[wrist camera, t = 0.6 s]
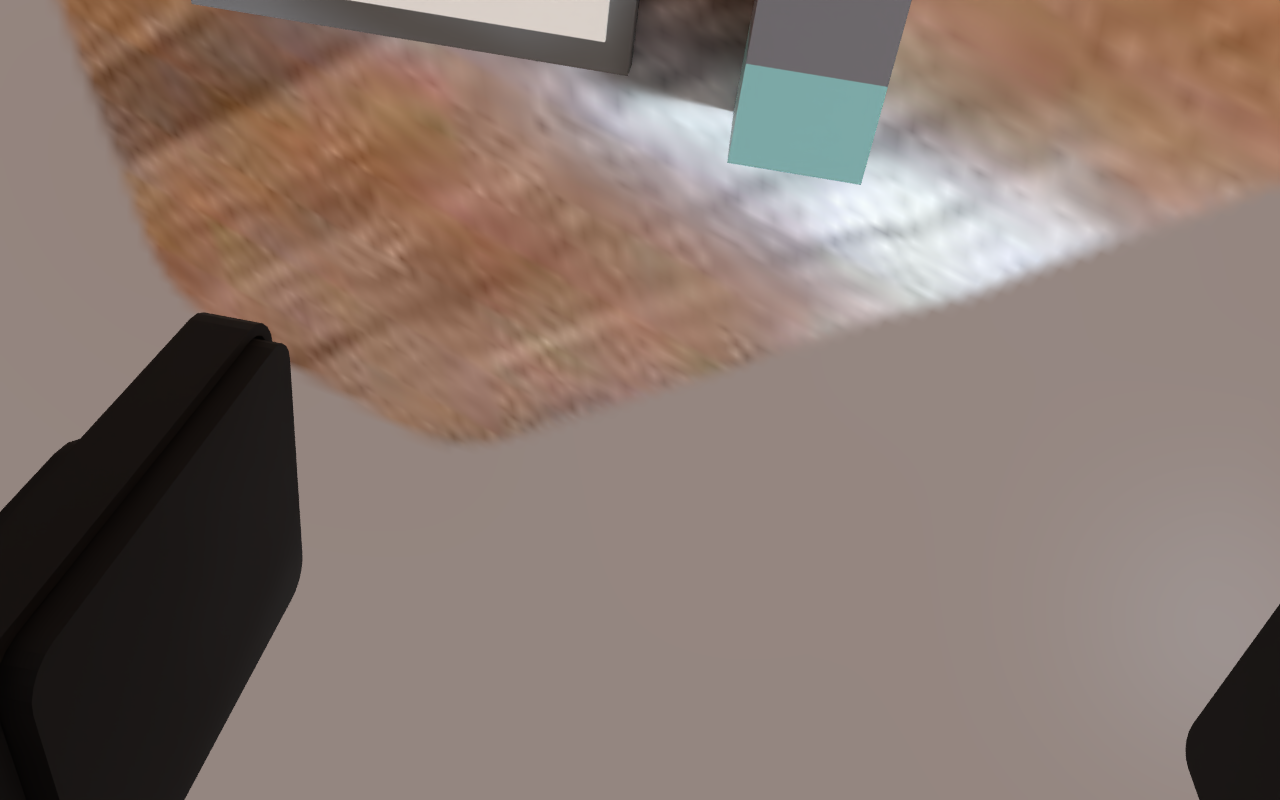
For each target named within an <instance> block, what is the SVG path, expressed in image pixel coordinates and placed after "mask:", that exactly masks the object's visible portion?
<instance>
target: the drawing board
mask: <svg viewBox="0 0 1280 800" xmlns="http://www.w3.org/2000/svg"><path fill="white" fill-rule="evenodd" d="M191 2H192V4H196V5H202V6H208V7H214V8H220V9H226V10H232V11H238V12H244V13H250V14H256V15H262V16H268V17H274V18H280V19H287V20H293V21H299V22H305V23H311V24H317V25H323V26H329V27H335V28H341V29H347V30H353V31H359V32H365V33H371V34H377V35H383V36H389V37H395V38H401V39H407V40H414V41H420V42H426V43H432V44H438V45H444V46H450V47H456V48H462V49H468V50H474V51H480V52H486V53H492V54H498V55H504V56H510V57H516V58H522V59H528V60H534V61H540V62H547V63H553V64H559V65H565V66H571V67H577V68H583V69H589V70H595V71H601V72H607V73H613V74H619V75H625V76H628V73H629V70H630V68H631V65H632V57H633V48H634V40H635V32H636V23H637V15H638V7H639V0H191Z"/></svg>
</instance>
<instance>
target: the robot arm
mask: <svg viewBox="0 0 1280 800" xmlns="http://www.w3.org/2000/svg"><path fill="white" fill-rule="evenodd" d="M294 432H295V431H294V416H293V400H292V385H291V368H290V357H289V351H288V349H287V347H286V346H285V345H284V344H282V343H276V342H272V337H271V333H270V331H269V329H268V327H267V326H265V325H264V324H263V323H257V322H252V321H247V320H241V319H236V318H231V317H225V316H220V315H215V314H209V313H197V314H196V315H195V316H193V317H192V318H191V319H190V320H189V321H188V322H187V323H186V324H185V325H184V326H183V327H182V328H181V329H180V331H179V332H178V333H177V334H176V335H175V336H174V337H173V338H172V339H171V340H170V341H169V343H168V344H167V345H166V346H165V347H164V348H163V349H162V350H161V351H160V352H159V353H158V355H157V356H156V357H155V358H154V359H153V360H152V361H151V362H150V363H149V364H148V366H147V367H146V368H145V369H144V370H143V371H142V372H141V373H140V374H139V375H138V376H137V377H136V379H135V380H134V381H133V382H132V383H131V384H130V385H129V386H128V387H127V388H126V390H125V391H124V392H123V393H122V394H121V395H120V396H119V397H118V398H117V399H116V400H115V401H114V403H113V404H112V405H111V406H110V407H109V408H108V409H107V410H106V411H105V412H104V414H103V415H102V416H101V417H100V418H99V419H98V420H97V421H96V422H95V423H94V424H93V426H92V427H91V428H90V429H89V430H88V431H87V432H86V433H85V434H84V435H83V436H82V438H81V439H78V440H75V441H72V442H69V443H67V444H66V445H65V446H63V447H62V448H61V449H60V450H58V451H57V452H56V453H55V454H54V455H53V456H52V457H51V458H50V459H49V460H48V461H47V462H46V463H45V464H44V465H43V467H42V468H41V469H40V470H39V471H38V472H37V473H36V474H35V475H34V476H33V477H32V478H31V479H30V480H29V481H28V483H27V484H26V485H25V486H24V487H23V488H22V489H21V490H20V491H19V492H18V493H17V495H16V496H15V497H14V498H13V499H12V500H11V501H10V502H9V503H8V504H7V505H6V506H5V507H4V508H3V509H2V511H1V512H0V800H184V799H185V798H186V796H187V794H188V792H189V790H190V788H191V786H192V784H193V783H194V781H195V779H196V777H197V775H198V773H199V771H200V770H201V768H202V766H203V764H204V762H205V760H206V758H207V756H208V755H209V753H210V751H211V749H212V747H213V745H214V743H215V742H216V740H217V738H218V736H219V734H220V732H221V730H222V728H223V727H224V724H225V723H226V721H227V719H228V717H229V715H230V713H231V712H232V710H233V708H234V706H235V704H236V702H237V700H238V698H239V697H240V695H241V693H242V691H243V689H244V687H245V685H246V683H247V682H248V680H249V678H250V676H251V674H252V672H253V670H254V669H255V667H256V665H257V663H258V661H259V659H260V657H261V655H262V653H263V652H264V650H265V648H266V646H267V644H268V642H269V640H270V638H271V637H272V635H273V633H274V631H275V629H276V627H277V625H278V624H279V622H280V620H281V618H282V616H283V614H284V612H285V611H286V608H287V607H288V605H289V603H290V601H291V599H292V597H293V595H294V593H295V591H296V588H297V585H298V582H299V578H300V574H301V567H302V542H301V526H300V511H299V494H298V480H297V463H296V447H295V433H294ZM1186 761H1187V765H1188V769H1189V771H1190V775H1191V777H1192V780H1193V783H1194V786H1195V789H1196V791H1197V794H1198V797H1199V800H1280V604H1279V606H1278V607H1277V609H1276V610H1275V611H1274V613H1273V614H1272V616H1271V617H1270V619H1269V620H1268V621H1267V622H1266V624H1265V625H1264V627H1263V628H1262V629H1261V631H1260V632H1259V634H1258V635H1257V637H1256V638H1255V639H1254V640H1253V642H1252V643H1251V645H1250V646H1249V647H1248V649H1247V650H1246V651H1245V653H1244V654H1243V656H1242V657H1241V658H1240V660H1239V661H1238V663H1237V664H1236V665H1235V667H1234V668H1233V670H1232V671H1231V672H1230V674H1229V675H1228V677H1227V678H1226V679H1225V681H1224V682H1223V683H1222V685H1221V686H1220V687H1219V689H1218V690H1217V692H1216V693H1215V694H1214V696H1213V697H1212V698H1211V700H1210V701H1209V703H1208V704H1207V705H1206V707H1205V708H1204V710H1203V711H1202V712H1201V714H1200V715H1199V716H1198V718H1197V719H1196V721H1195V722H1194V723H1193V725H1192V727H1191V729H1190V731H1189V733H1188V737H1187V741H1186Z"/></svg>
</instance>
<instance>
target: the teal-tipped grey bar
mask: <svg viewBox="0 0 1280 800" xmlns="http://www.w3.org/2000/svg"><path fill="white" fill-rule="evenodd" d="M910 4H911V0H754V4H753V10H752V15H751V21H750V26H749V31H748V37H747V42H746V48H745V53H744V58H743V64H742V69H741V74H740V80H739V85H738V91H737V96H736V101H735V107H734V112H733V121H732V129H731V137H730V146H729V154H728V162H727V163H732V164H738V165H745V166H751V167H757V168H763V169H769V170H775V171H781V172H787V173H793V174H799V175H805V176H811V177H817V178H823V179H829V180H835V181H841V182H847V183H853V184H859V185H861V182H862V179H863V175H864V171H865V168H866V164H867V160H868V157H869V153H870V149H871V146H872V142H873V139H874V135H875V131H876V128H877V124H878V120H879V117H880V113H881V109H882V106H883V102H884V99H885V95H886V91H887V88H888V84H889V80H890V77H891V73H892V69H893V66H894V62H895V59H896V55H897V51H898V48H899V44H900V40H901V37H902V33H903V30H904V26H905V22H906V19H907V15H908V11H909V8H910Z"/></svg>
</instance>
